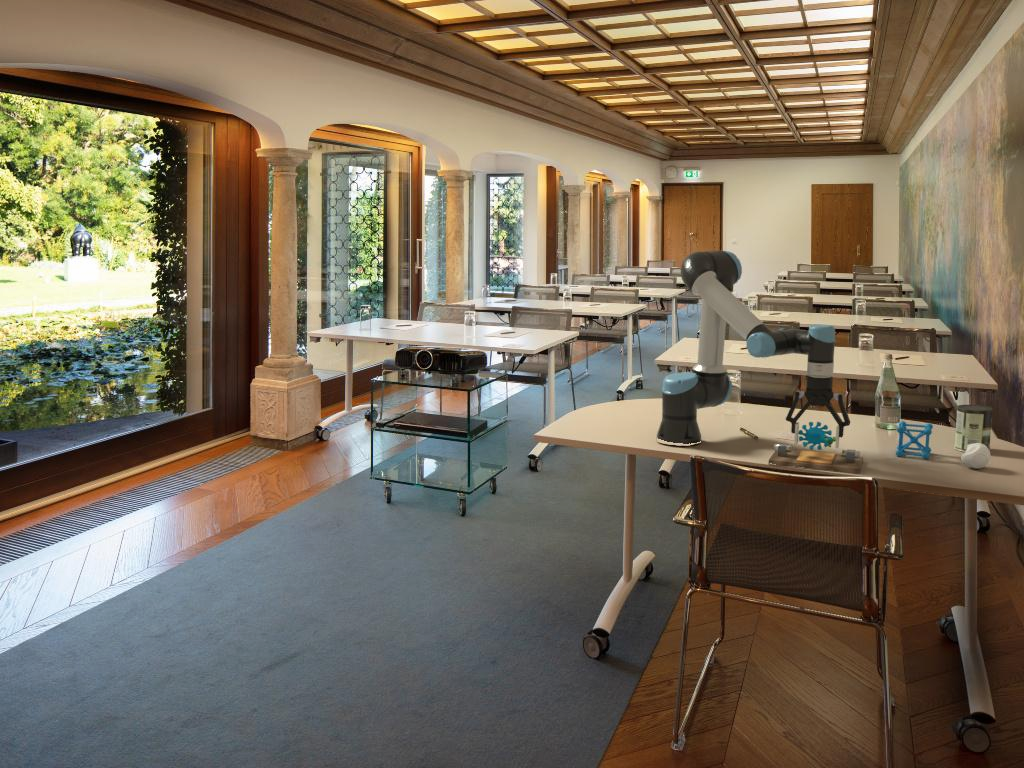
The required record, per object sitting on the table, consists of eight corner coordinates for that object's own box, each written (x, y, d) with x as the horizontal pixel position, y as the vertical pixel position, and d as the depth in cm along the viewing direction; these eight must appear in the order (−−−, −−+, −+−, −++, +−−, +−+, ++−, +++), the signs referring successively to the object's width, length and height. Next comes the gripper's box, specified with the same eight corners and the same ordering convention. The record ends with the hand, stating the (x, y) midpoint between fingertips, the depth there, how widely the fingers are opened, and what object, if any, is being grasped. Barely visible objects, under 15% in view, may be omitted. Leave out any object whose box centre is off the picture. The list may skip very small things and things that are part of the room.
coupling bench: (768, 464, 265) (768, 458, 264) (776, 453, 278) (776, 447, 278) (859, 473, 254) (859, 467, 253) (862, 461, 267) (863, 455, 267)
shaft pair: (773, 455, 269) (773, 445, 269) (775, 452, 273) (775, 442, 272) (858, 464, 258) (859, 453, 258) (859, 460, 262) (860, 450, 261)
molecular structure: (894, 457, 272) (896, 426, 270) (897, 449, 280) (899, 420, 279) (929, 460, 267) (931, 429, 265) (931, 453, 276) (933, 422, 274)
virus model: (794, 443, 264) (803, 417, 268) (794, 453, 269) (802, 427, 273) (831, 452, 259) (839, 425, 264) (830, 462, 264) (838, 435, 268)
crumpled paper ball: (963, 463, 263) (965, 438, 262) (991, 467, 258) (993, 442, 257) (957, 469, 257) (959, 444, 256) (986, 473, 252) (988, 447, 251)
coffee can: (979, 445, 284) (982, 404, 281) (996, 453, 274) (999, 410, 271) (947, 446, 284) (950, 404, 282) (963, 454, 274) (966, 410, 271)
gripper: (777, 375, 263) (774, 444, 267) (860, 380, 253) (856, 452, 257) (781, 371, 270) (778, 439, 273) (862, 376, 259) (858, 446, 263)
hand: (816, 445), depth 265 cm, fingers open, 11 cm apart
